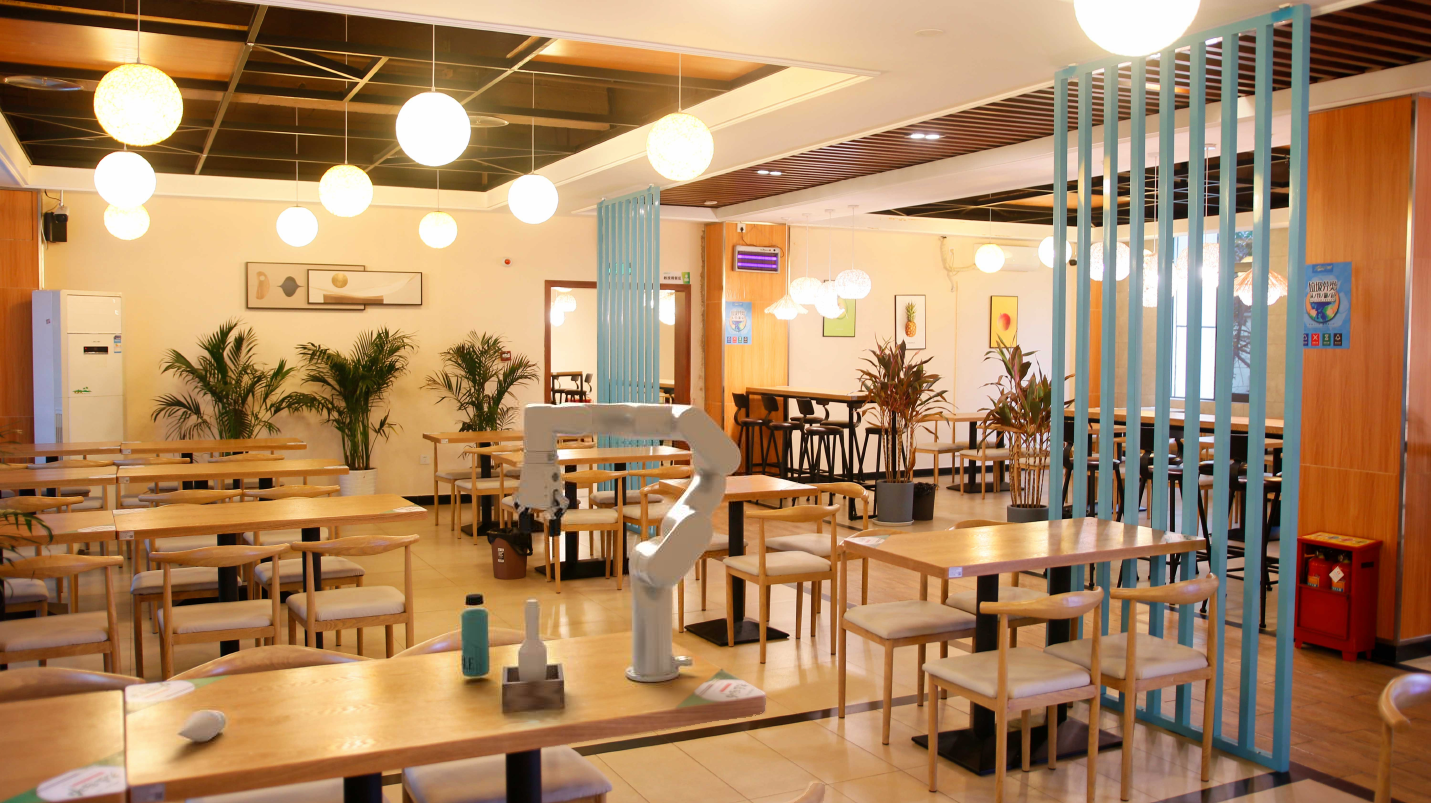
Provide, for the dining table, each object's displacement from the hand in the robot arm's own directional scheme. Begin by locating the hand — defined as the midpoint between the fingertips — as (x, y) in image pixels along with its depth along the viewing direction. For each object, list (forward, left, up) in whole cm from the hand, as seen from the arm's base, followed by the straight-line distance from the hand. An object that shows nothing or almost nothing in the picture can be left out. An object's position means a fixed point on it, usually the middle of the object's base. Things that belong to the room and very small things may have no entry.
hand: (539, 534), depth 230 cm
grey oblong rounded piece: (+66, +21, -36) cm, 78 cm away
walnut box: (+2, +8, -35) cm, 36 cm away
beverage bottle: (+15, -10, -35) cm, 40 cm away
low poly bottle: (+2, +8, -35) cm, 36 cm away
